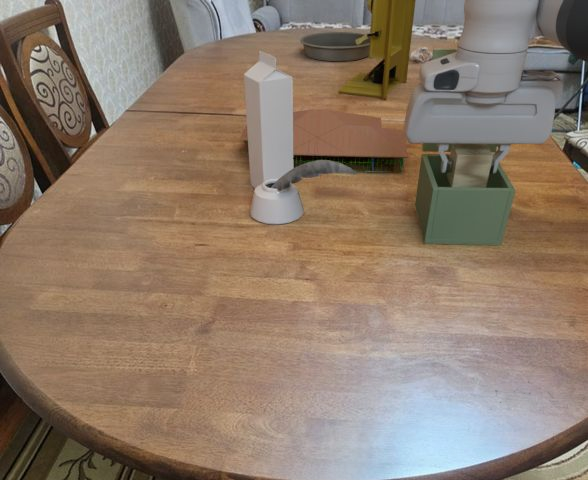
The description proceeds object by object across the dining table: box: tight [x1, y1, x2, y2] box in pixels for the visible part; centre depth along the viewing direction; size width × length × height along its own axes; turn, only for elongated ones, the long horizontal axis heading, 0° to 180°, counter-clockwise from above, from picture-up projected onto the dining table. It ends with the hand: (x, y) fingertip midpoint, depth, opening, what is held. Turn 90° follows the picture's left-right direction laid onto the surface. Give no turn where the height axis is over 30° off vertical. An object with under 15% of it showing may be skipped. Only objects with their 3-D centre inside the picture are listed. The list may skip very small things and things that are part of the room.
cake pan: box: [299, 31, 370, 62], centre depth 180 cm, size 25×25×4 cm
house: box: [238, 108, 410, 173], centre depth 111 cm, size 23×33×8 cm
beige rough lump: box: [409, 46, 433, 64], centre depth 171 cm, size 8×4×7 cm
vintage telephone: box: [338, 0, 416, 101], centre depth 140 cm, size 31×14×30 cm, turn 155°
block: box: [447, 144, 494, 188], centre depth 81 cm, size 5×5×5 cm
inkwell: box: [249, 159, 358, 225], centre depth 88 cm, size 9×18×10 cm, turn 74°
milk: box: [243, 50, 295, 189], centre depth 93 cm, size 6×6×22 cm
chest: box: [414, 153, 516, 246], centre depth 86 cm, size 14×12×9 cm
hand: (467, 171), depth 82 cm, fingers open, 5 cm apart
